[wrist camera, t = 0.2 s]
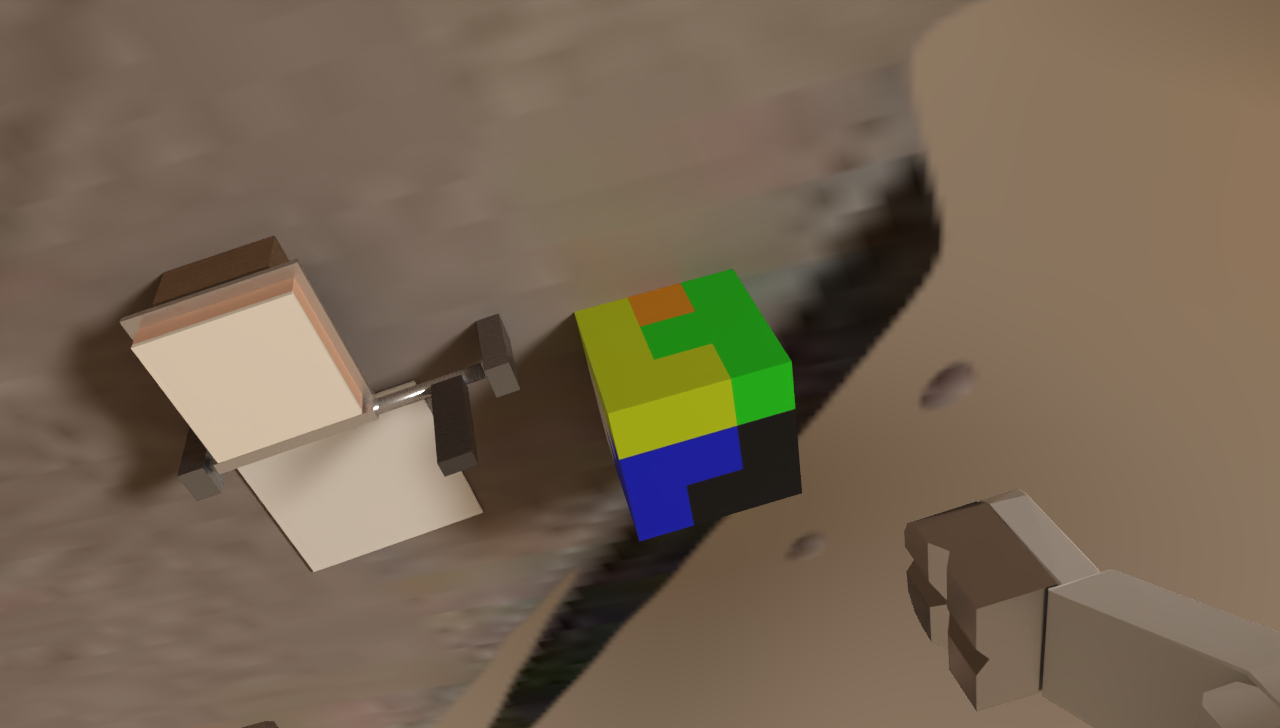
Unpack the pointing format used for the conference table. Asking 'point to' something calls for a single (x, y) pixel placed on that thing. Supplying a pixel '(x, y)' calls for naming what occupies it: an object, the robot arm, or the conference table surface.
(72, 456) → the conference table surface
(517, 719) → the conference table surface
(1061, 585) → the robot arm
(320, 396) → the tile
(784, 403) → the puzzle toy
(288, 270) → the flipper
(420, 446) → the mat
